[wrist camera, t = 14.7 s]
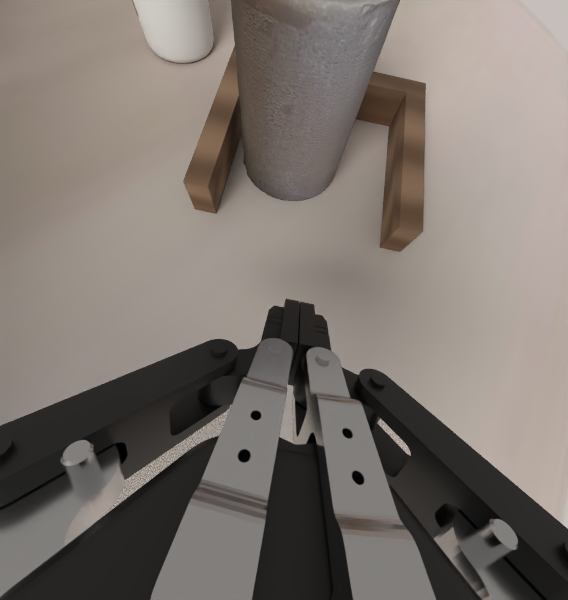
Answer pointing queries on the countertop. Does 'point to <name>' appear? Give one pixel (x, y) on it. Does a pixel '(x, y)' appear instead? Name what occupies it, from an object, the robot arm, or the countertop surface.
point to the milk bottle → (177, 28)
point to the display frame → (374, 108)
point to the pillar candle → (303, 85)
